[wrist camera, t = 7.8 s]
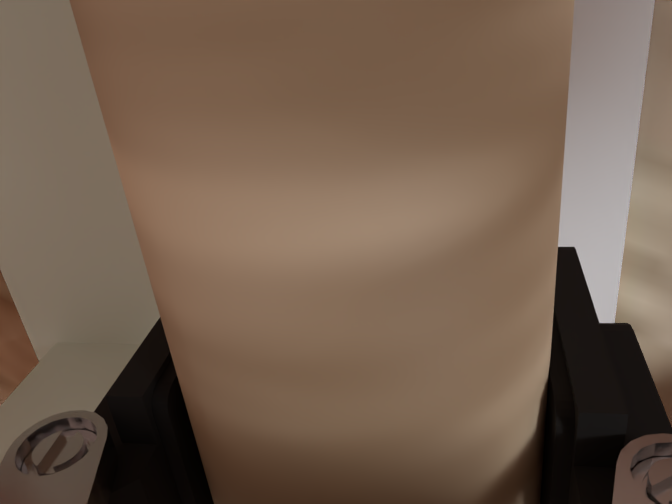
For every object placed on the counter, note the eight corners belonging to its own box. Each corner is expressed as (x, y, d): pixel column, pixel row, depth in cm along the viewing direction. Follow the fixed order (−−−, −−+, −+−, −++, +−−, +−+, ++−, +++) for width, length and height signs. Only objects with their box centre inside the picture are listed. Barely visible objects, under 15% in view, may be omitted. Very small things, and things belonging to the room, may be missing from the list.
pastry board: (716, -614, 13) (737, -655, 12) (592, 437, 28) (597, 458, 27) (143, -467, 16) (121, -490, 15) (302, 423, 30) (297, 442, 29)
